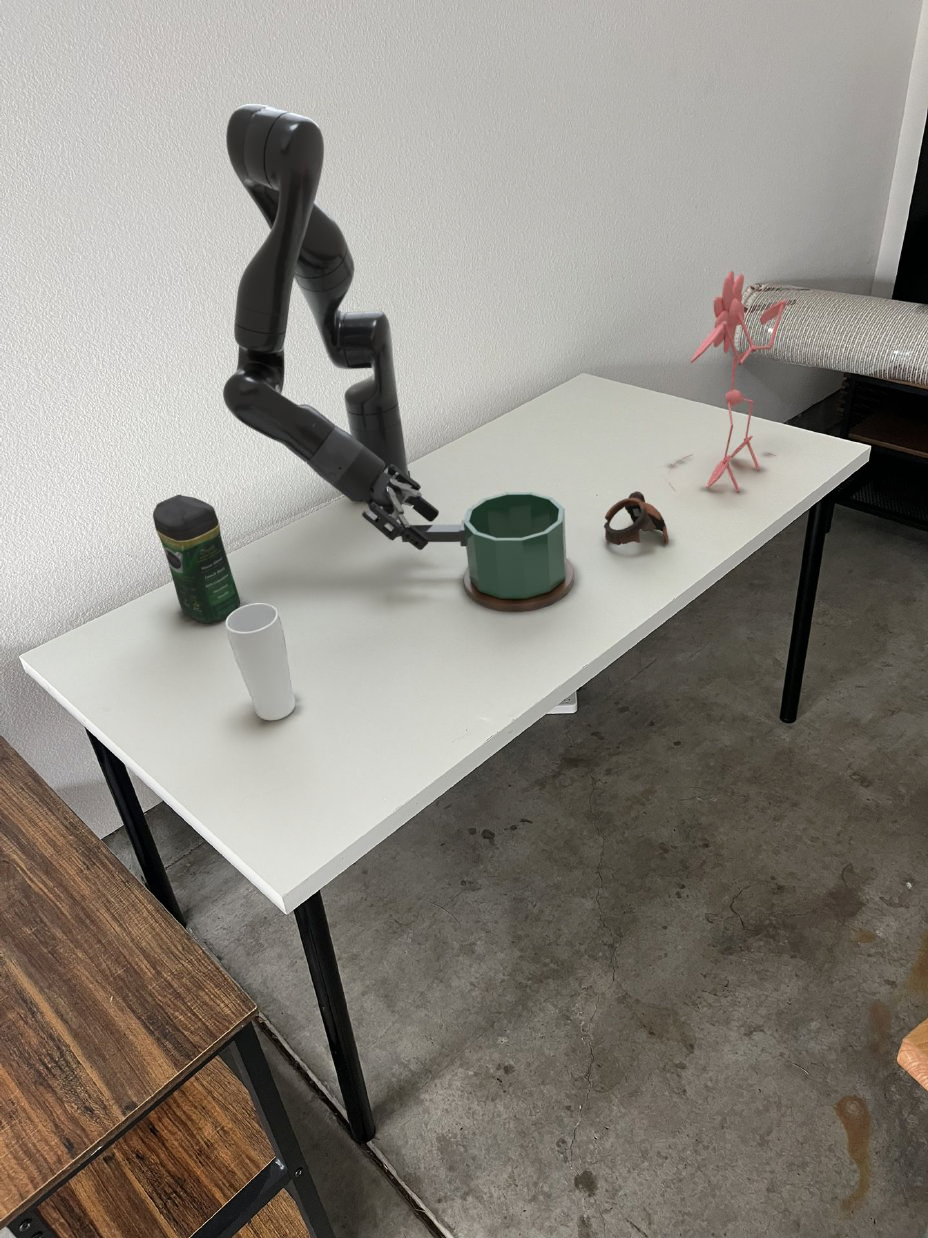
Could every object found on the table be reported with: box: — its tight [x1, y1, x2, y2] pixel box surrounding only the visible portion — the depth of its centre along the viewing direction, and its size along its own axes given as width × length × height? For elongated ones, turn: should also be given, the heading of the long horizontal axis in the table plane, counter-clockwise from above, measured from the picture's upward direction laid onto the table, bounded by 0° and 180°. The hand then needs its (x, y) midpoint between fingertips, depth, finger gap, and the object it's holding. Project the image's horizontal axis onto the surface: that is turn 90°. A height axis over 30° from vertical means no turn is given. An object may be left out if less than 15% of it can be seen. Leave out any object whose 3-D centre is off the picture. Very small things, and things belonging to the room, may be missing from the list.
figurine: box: [665, 270, 787, 492], centre depth 161 cm, size 15×26×35 cm, turn 144°
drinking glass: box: [224, 602, 296, 721], centre depth 123 cm, size 7×7×15 cm
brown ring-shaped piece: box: [603, 490, 669, 546], centre depth 154 cm, size 12×10×8 cm
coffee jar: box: [152, 494, 242, 624], centre depth 144 cm, size 10×8×19 cm
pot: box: [401, 491, 567, 599], centre depth 145 cm, size 25×15×10 cm, turn 81°
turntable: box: [463, 557, 575, 613], centre depth 147 cm, size 17×17×1 cm
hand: (430, 531), depth 145 cm, fingers open, 8 cm apart
